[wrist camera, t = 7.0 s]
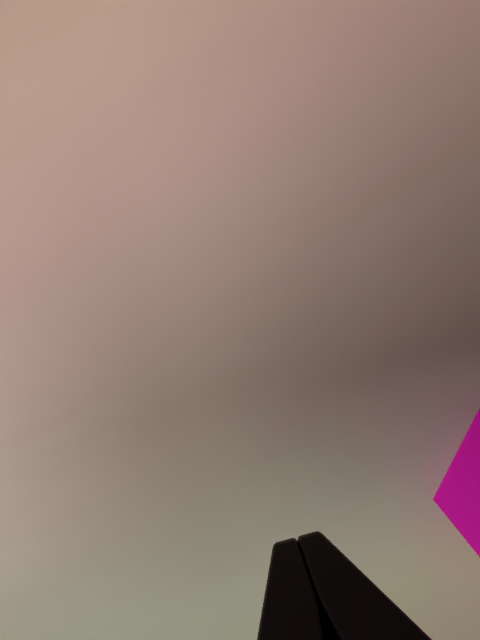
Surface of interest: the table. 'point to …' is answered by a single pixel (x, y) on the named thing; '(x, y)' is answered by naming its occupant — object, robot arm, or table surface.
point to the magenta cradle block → (464, 487)
